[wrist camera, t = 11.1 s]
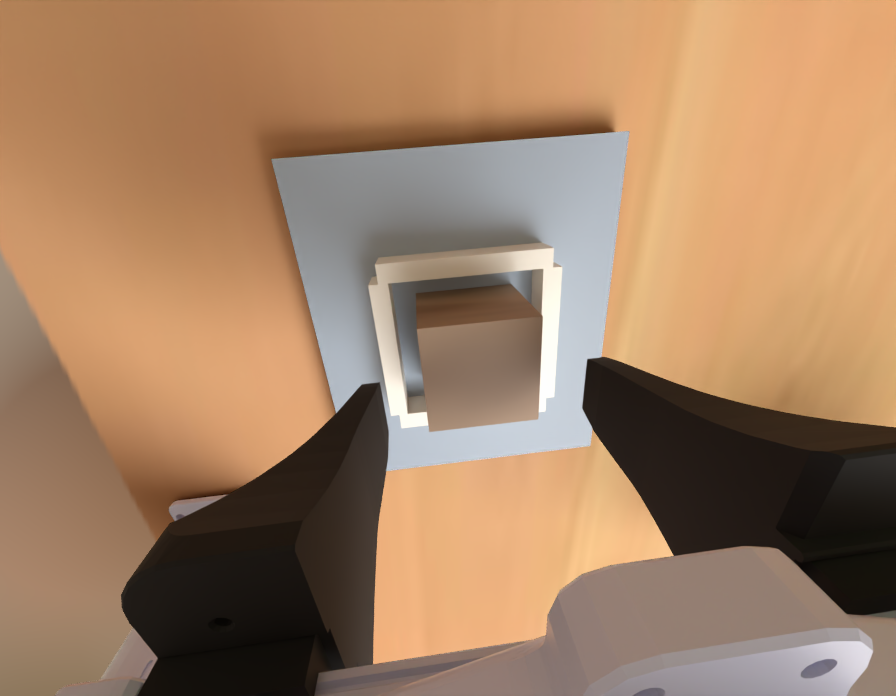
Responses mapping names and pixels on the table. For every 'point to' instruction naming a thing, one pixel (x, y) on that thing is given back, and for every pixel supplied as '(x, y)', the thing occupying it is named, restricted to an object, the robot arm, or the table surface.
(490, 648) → the robot arm
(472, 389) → the brown cube
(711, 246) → the table surface
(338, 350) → the base plate
